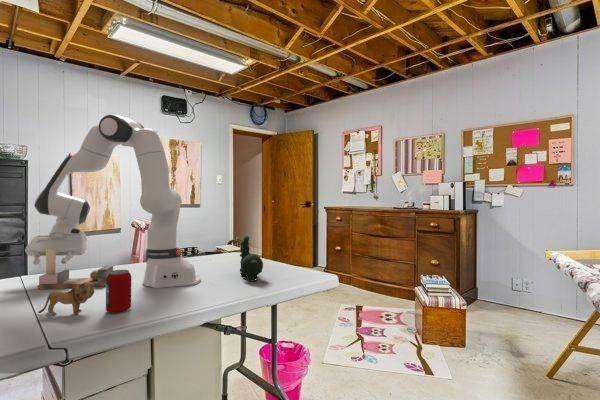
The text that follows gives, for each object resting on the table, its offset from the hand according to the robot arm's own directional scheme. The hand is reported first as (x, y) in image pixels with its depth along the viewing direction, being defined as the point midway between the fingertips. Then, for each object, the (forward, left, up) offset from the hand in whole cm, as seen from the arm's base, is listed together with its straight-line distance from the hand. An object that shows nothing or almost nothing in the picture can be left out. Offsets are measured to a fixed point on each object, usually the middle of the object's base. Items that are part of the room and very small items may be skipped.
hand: (49, 263), depth 129 cm
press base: (-10, -1, -9) cm, 13 cm away
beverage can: (-35, +36, -9) cm, 51 cm away
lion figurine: (-21, +35, -9) cm, 42 cm away
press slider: (-2, -1, -7) cm, 7 cm away
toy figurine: (-77, -2, -9) cm, 78 cm away
